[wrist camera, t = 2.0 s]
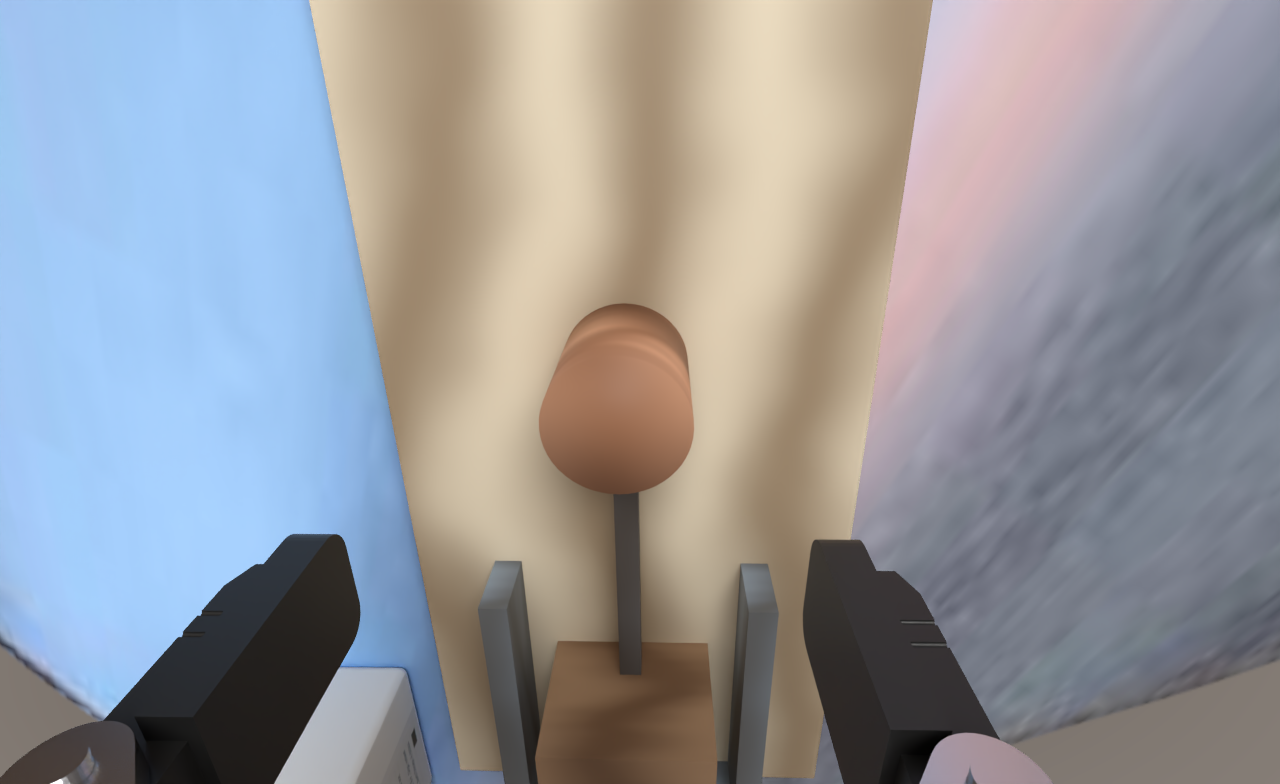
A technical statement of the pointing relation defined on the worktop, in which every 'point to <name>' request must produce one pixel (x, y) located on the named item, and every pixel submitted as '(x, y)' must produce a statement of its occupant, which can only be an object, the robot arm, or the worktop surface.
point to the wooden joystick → (624, 561)
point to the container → (361, 733)
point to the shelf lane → (634, 274)
